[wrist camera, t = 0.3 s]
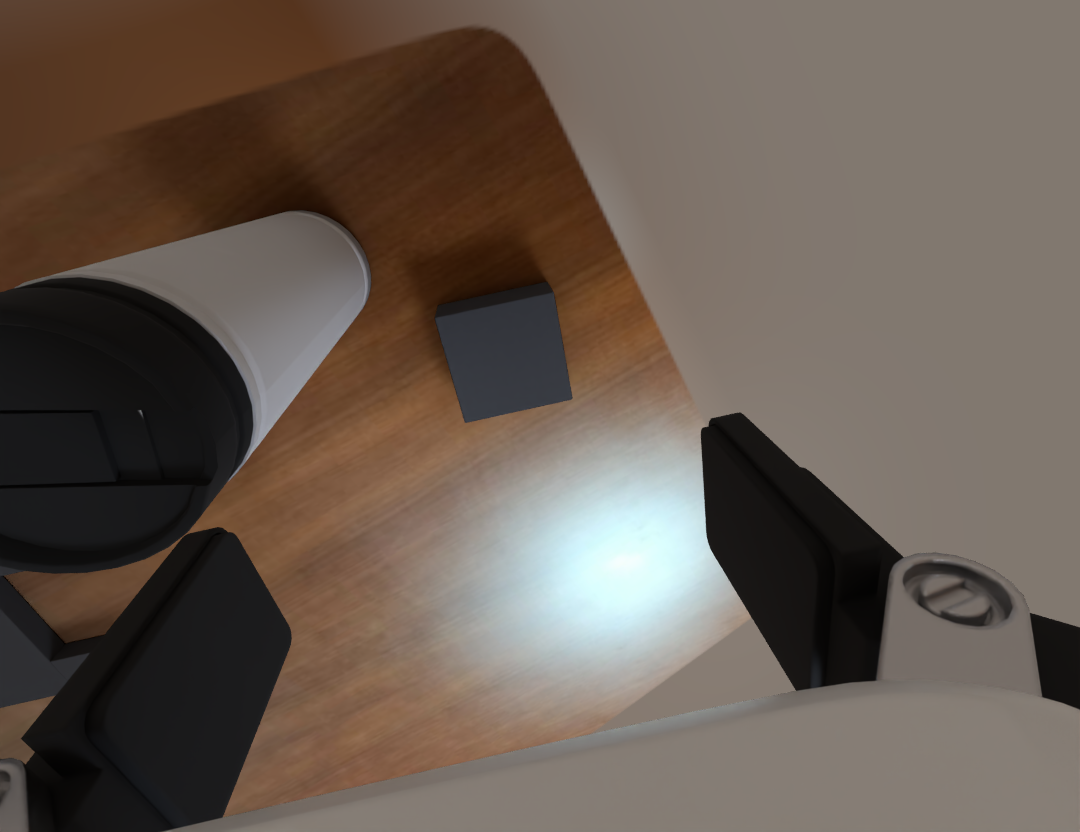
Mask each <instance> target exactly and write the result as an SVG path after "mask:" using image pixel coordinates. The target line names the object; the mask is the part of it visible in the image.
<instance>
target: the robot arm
mask: <svg viewBox="0 0 1080 832" xmlns="http://www.w3.org/2000/svg"><path fill="white" fill-rule="evenodd" d="M701 445H702V463H703V481H704V499H705V516H706V533H707V539H708V543H709V546H710V548H711V551H712V552H713V554H714V556H715V558H716V559H717V561H718V562H719V564H720V566H721V567H722V569H723V571H724V572H725V574H726V576H727V577H728V579H729V581H730V582H731V584H732V586H733V587H734V589H735V591H736V592H737V594H738V596H739V597H740V599H741V600H742V602H743V604H744V605H745V607H746V609H747V610H748V612H749V614H750V615H751V617H752V619H753V620H754V622H755V624H756V625H757V627H758V629H759V630H760V632H761V633H762V635H763V637H764V638H765V640H766V642H767V643H768V645H769V647H770V648H771V650H772V652H773V653H774V655H775V657H776V658H777V660H778V661H779V663H780V665H781V667H782V668H783V670H784V671H785V673H786V675H787V676H788V678H789V680H790V681H791V683H792V685H793V686H794V688H795V690H796V691H793V692H788V693H783V694H778V695H773V696H768V697H764V698H759V699H753V700H748V701H743V702H738V703H733V704H729V705H724V706H719V707H714V708H709V709H704V710H699V711H694V712H689V713H684V714H680V715H675V716H671V717H666V718H662V719H657V720H653V721H648V722H644V723H639V724H634V725H630V726H625V727H621V728H616V729H612V730H607V731H603V732H598V733H594V734H589V735H584V736H580V737H575V738H571V739H566V740H562V741H557V742H553V743H548V744H544V745H539V746H535V747H530V748H526V749H521V750H517V751H512V752H508V753H503V754H499V755H494V756H490V757H486V758H481V759H477V760H472V761H468V762H463V763H459V764H455V765H450V766H446V767H441V768H437V769H432V770H428V771H424V772H419V773H415V774H410V775H406V776H402V777H397V778H393V779H388V780H384V781H380V782H375V783H371V784H366V785H362V786H358V787H353V788H349V789H344V790H340V791H336V792H331V793H327V794H322V795H318V796H314V797H309V798H305V799H301V800H297V801H292V802H288V803H284V804H279V805H275V806H271V807H266V808H262V809H258V810H254V811H249V812H245V813H241V814H236V815H232V816H228V817H224V818H222V817H223V815H224V812H225V810H226V807H227V805H228V802H229V800H230V797H231V795H232V792H233V790H234V787H235V785H236V782H237V779H238V777H239V774H240V772H241V769H242V767H243V764H244V762H245V759H246V757H247V754H248V752H249V749H250V747H251V744H252V742H253V739H254V737H255V734H256V732H257V729H258V727H259V724H260V721H261V719H262V716H263V714H264V711H265V709H266V706H267V704H268V701H269V699H270V696H271V694H272V691H273V689H274V686H275V684H276V681H277V679H278V676H279V674H280V671H281V668H282V666H283V663H284V661H285V658H286V656H287V653H288V651H289V648H290V645H291V639H292V638H291V630H290V627H289V625H288V623H287V622H286V620H285V618H284V617H283V615H282V613H281V611H280V610H279V608H278V606H277V604H276V603H275V601H274V599H273V598H272V596H271V594H270V592H269V591H268V589H267V587H266V586H265V584H264V582H263V580H262V579H261V577H260V575H259V573H258V572H257V570H256V568H255V567H254V565H253V563H252V561H251V560H250V558H249V556H248V555H247V553H246V551H245V549H244V548H243V546H242V544H241V542H240V541H239V539H238V538H237V536H236V535H235V534H233V533H231V532H227V531H226V530H224V529H223V528H219V527H217V528H212V529H208V530H203V531H199V532H194V533H190V534H187V535H185V536H184V537H183V538H182V539H181V540H180V542H179V543H178V544H177V545H176V547H175V548H174V549H173V550H172V552H171V553H170V554H169V555H168V557H167V558H166V559H165V560H164V562H163V563H162V564H161V565H160V567H159V568H158V569H157V570H156V571H155V573H154V574H153V575H152V576H151V578H150V579H149V580H148V581H147V583H146V584H145V585H144V586H143V588H142V589H141V590H140V591H139V593H138V594H137V595H136V596H135V598H134V599H133V600H132V601H131V603H130V604H129V605H128V606H127V608H126V609H125V610H124V611H123V613H122V614H121V615H120V616H119V618H118V619H117V620H116V621H115V622H114V624H113V625H112V626H111V627H110V629H109V630H108V631H107V632H106V634H105V635H104V636H103V637H102V639H101V640H100V641H99V642H98V644H97V645H96V646H95V647H94V649H93V650H92V651H91V652H90V654H89V655H88V656H87V657H86V659H85V660H84V661H83V662H82V664H81V665H80V666H79V667H78V669H77V670H76V671H75V672H74V673H73V675H72V676H71V677H70V678H69V680H68V681H67V682H66V683H65V685H64V686H63V687H62V688H61V690H60V691H59V692H58V693H57V695H56V696H55V697H54V698H53V700H52V701H51V702H50V703H49V705H48V706H47V707H46V708H45V710H44V711H43V712H42V713H41V715H40V716H39V717H38V718H37V720H36V721H35V722H34V723H33V724H32V726H31V727H30V728H29V729H28V731H27V732H26V733H25V734H24V736H23V737H22V738H21V739H22V740H23V741H24V742H25V743H26V744H27V745H28V746H29V747H30V748H31V749H32V750H34V751H35V753H34V754H33V756H32V757H31V758H30V760H29V761H28V762H27V764H26V765H25V764H24V763H23V762H22V761H20V760H17V759H14V758H7V759H0V832H1080V627H1076V626H1073V625H1069V624H1066V623H1063V622H1059V621H1055V620H1052V619H1049V618H1046V617H1042V616H1039V615H1035V614H1032V613H1030V612H1029V608H1028V605H1027V603H1026V600H1025V598H1024V595H1023V594H1022V593H1021V592H1020V591H1019V590H1018V589H1017V588H1016V587H1015V585H1014V584H1013V583H1012V582H1010V581H1009V580H1008V579H1006V578H1005V577H1003V576H1002V575H1001V574H999V573H998V572H996V571H995V570H993V569H991V568H988V567H986V566H984V565H982V564H980V563H978V562H976V561H973V560H969V559H966V558H962V557H959V556H956V555H949V554H941V553H918V554H914V555H911V556H908V557H903V556H902V555H901V554H899V553H898V552H897V551H896V550H895V549H894V548H893V547H892V546H891V545H890V544H888V543H887V542H886V541H885V540H884V539H883V538H882V537H881V536H880V535H879V534H878V533H877V532H875V531H874V530H873V529H872V528H871V527H870V526H869V525H868V524H867V523H866V522H865V521H863V520H862V519H861V518H860V517H859V516H858V515H857V514H856V513H855V512H854V511H853V510H851V509H850V508H849V507H848V506H847V505H846V504H845V503H844V502H843V501H842V500H841V499H840V498H839V497H837V496H836V495H835V494H834V493H833V492H832V491H831V490H830V489H829V488H828V487H826V486H825V485H824V484H823V483H822V482H821V481H820V480H819V479H818V478H817V477H816V476H815V475H813V474H812V473H811V472H810V471H808V470H807V469H805V468H801V467H799V466H798V465H797V464H796V463H795V462H794V461H793V460H792V459H790V458H789V457H788V456H787V455H786V454H785V453H784V452H783V451H782V450H781V449H780V448H779V447H778V446H776V445H775V444H774V443H773V442H772V441H771V440H770V439H769V438H768V437H767V436H765V434H764V433H763V432H762V431H760V430H759V429H758V428H757V427H756V426H755V425H754V424H753V423H752V422H751V421H750V420H749V419H748V418H747V417H745V416H744V415H743V414H742V413H734V414H730V415H725V416H721V417H716V418H712V419H711V420H710V421H709V427H704V428H702V430H701Z"/></svg>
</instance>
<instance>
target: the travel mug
mask: <svg viewBox="0 0 1080 832" xmlns="http://www.w3.org/2000/svg"><path fill="white" fill-rule="evenodd" d="M370 288H371V273H370V267H369V263H368V260H367V258H366V255H365V253H364V251H363V249H362V248H361V246H360V244H359V243H358V241H357V240H356V239H355V238H354V237H353V235H352V234H351V233H350V232H349V231H348V230H347V229H345V228H344V227H343V226H342V225H341V224H339V223H338V222H336V221H334V220H332V219H331V218H329V217H327V216H324V215H321V214H318V213H316V212H310V211H303V210H299V211H287V212H284V213H280V214H276V215H272V216H269V217H265V218H261V219H257V220H254V221H250V222H246V223H243V224H239V225H235V226H232V227H228V228H224V229H221V230H217V231H213V232H209V233H206V234H202V235H198V236H195V237H191V238H187V239H184V240H180V241H176V242H173V243H169V244H165V245H162V246H158V247H154V248H150V249H147V250H143V251H139V252H136V253H132V254H128V255H125V256H121V257H117V258H114V259H110V260H106V261H102V262H99V263H95V264H91V265H88V266H84V267H80V268H77V269H73V270H69V271H66V272H62V273H58V274H54V275H52V276H48V277H44V278H40V279H36V280H32V281H29V282H25V283H23V284H21V285H19V286H17V287H16V288H14V289H10V290H7V291H4V292H0V566H2V567H7V568H12V569H16V570H21V571H32V572H43V573H54V574H55V573H87V572H93V571H100V570H106V569H112V568H118V567H121V566H125V565H128V564H131V563H134V562H137V561H141V560H144V559H146V558H148V557H150V556H152V555H154V554H156V553H158V552H160V551H162V550H164V549H166V548H168V547H169V546H171V545H172V544H173V543H175V542H176V541H177V540H178V539H180V538H181V537H182V536H183V535H185V534H186V533H187V532H188V531H189V530H190V529H191V527H192V526H193V525H194V524H195V523H196V521H197V520H198V519H199V518H200V516H201V515H202V514H203V512H204V511H205V510H206V508H207V507H208V506H209V505H210V503H211V502H212V501H213V499H214V498H215V497H216V496H217V494H218V493H219V492H220V491H221V489H222V488H223V487H224V485H225V484H226V483H227V481H229V480H230V479H231V478H232V477H234V475H235V474H236V473H237V472H238V471H239V469H240V468H241V467H242V466H243V464H244V463H245V462H246V461H247V459H248V458H249V457H250V455H251V454H252V452H253V451H254V450H255V449H256V447H257V446H258V445H259V444H260V442H261V441H262V440H263V438H264V437H265V436H266V434H267V433H268V432H269V430H270V429H271V428H272V427H273V425H274V424H275V423H276V421H277V420H278V419H279V417H280V416H281V415H282V413H283V412H284V411H285V410H286V408H287V407H288V406H289V404H290V403H291V402H292V400H293V399H294V398H295V396H296V395H297V394H298V393H299V391H300V390H301V389H302V387H303V386H304V385H305V383H306V382H307V381H308V379H309V378H310V377H311V375H312V374H313V373H314V372H315V370H316V369H317V368H318V366H319V365H320V364H321V362H322V361H323V360H324V358H325V357H326V356H327V355H328V353H329V352H330V351H331V349H332V348H333V347H334V345H335V344H336V343H337V341H338V340H339V339H340V338H341V336H342V335H343V334H344V332H345V331H346V330H347V328H348V327H349V326H350V324H351V323H352V322H353V321H354V319H355V318H356V317H357V315H358V314H359V313H360V311H361V310H362V309H363V307H364V305H365V303H366V301H367V299H368V296H369V292H370Z"/></svg>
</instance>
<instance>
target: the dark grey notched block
mask: <svg viewBox="0 0 1080 832" xmlns="http://www.w3.org/2000/svg"><path fill="white" fill-rule="evenodd" d="M17 572H22V571H21V570H16V569H12V568H7V567H2V566H0V708H1V707H6V706H10V705H15V704H19V703H24V702H28V701H33V700H37V699H41V698H46V697H50V696H55V695H57V693H58V692H59V691H60V690H61V688H62V687H63V686H64V685H65V683H66V682H67V681H68V680H69V678H70V677H71V676H72V675H73V673H74V672H75V671H76V670H77V669H78V667H79V666H80V665H81V664H82V662H83V661H84V660H85V659H86V657H87V656H88V655H89V654H90V652H91V651H92V650H93V649H94V647H95V646H96V645H97V644H98V642H99V641H100V640H101V639H102V637H103V636H104V635H103V636H99V637H94V638H90V639H86V640H81V641H77V642H72V643H68V644H64V643H63V642H62V641H61V640H60V638H59V637H58V636H57V635H56V634H55V633H54V632H53V631H52V630H51V629H50V627H49V626H48V625H47V624H46V623H45V622H44V621H43V620H42V619H41V618H40V616H39V615H38V614H37V613H36V612H35V611H34V610H33V609H32V608H31V607H30V605H29V604H28V603H27V602H26V601H25V600H24V599H23V598H22V597H21V596H20V594H19V593H18V592H17V591H16V590H15V589H14V588H13V587H12V586H11V585H10V583H9V582H8V581H7V580H6V579H5V578H4V577H3V576H4V575H8V574H13V573H17Z"/></svg>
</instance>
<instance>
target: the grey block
mask: <svg viewBox="0 0 1080 832" xmlns="http://www.w3.org/2000/svg"><path fill="white" fill-rule="evenodd" d="M435 321H436V325H437V328H438V332H439V335H440V339H441V342H442V346H443V349H444V352H445V356H446V359H447V363H448V366H449V370H450V373H451V376H452V380H453V383H454V387H455V390H456V394H457V397H458V400H459V404H460V407H461V411H462V414H463V418H464V421H465V423H467V422H472V421H476V420H481V419H485V418H490V417H494V416H499V415H504V414H508V413H513V412H517V411H522V410H526V409H531V408H535V407H540V406H544V405H549V404H553V403H558V402H563V401H567V400H571V399H572V393H571V387H570V382H569V376H568V370H567V365H566V359H565V353H564V348H563V342H562V336H561V331H560V325H559V319H558V314H557V308H556V302H555V297H554V292H553V291H552V289H551V287H550V286H549V284H548V282H544V283H539V284H535V285H530V286H525V287H521V288H516V289H511V290H507V291H502V292H498V293H493V294H488V295H484V296H479V297H475V298H470V299H465V300H461V301H456V302H452V303H447V304H442V305H438V307H437V311H436V315H435Z"/></svg>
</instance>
